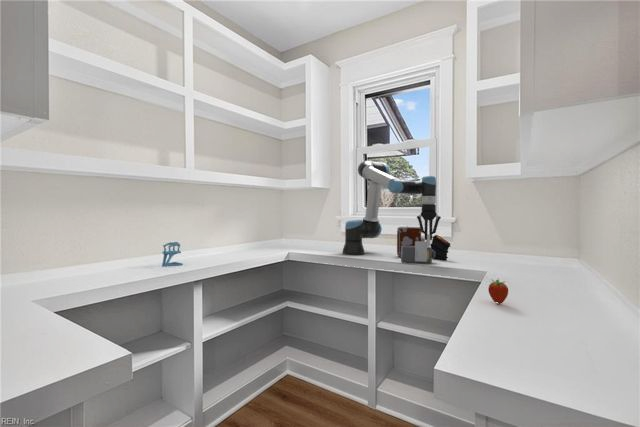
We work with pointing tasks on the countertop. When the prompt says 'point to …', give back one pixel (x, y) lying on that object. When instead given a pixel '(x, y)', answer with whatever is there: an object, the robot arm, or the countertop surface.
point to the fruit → (498, 291)
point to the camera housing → (409, 255)
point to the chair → (171, 254)
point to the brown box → (408, 237)
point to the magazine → (440, 248)
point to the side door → (420, 251)
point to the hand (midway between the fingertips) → (428, 245)
